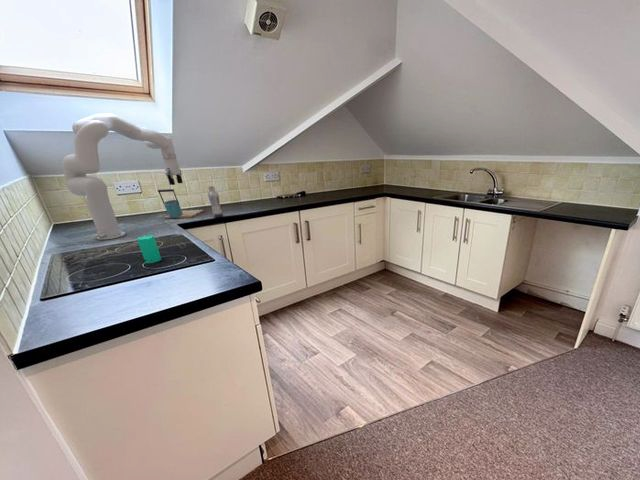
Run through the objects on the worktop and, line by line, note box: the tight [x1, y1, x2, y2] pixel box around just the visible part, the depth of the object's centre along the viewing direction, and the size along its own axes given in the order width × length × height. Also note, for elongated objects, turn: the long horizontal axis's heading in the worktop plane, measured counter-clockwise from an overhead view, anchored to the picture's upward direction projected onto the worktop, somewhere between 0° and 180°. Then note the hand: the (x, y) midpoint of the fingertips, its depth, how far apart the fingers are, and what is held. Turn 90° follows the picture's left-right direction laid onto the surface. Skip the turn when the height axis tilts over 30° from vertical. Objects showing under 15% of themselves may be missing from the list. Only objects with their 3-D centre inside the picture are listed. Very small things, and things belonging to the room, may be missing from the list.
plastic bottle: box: [207, 186, 224, 219], centre depth 197 cm, size 6×7×20 cm
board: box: [163, 209, 205, 219], centre depth 211 cm, size 20×18×1 cm
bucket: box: [157, 188, 183, 217], centre depth 199 cm, size 18×10×8 cm
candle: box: [136, 233, 162, 264], centre depth 125 cm, size 6×6×12 cm
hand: (176, 183), depth 203 cm, fingers open, 9 cm apart
